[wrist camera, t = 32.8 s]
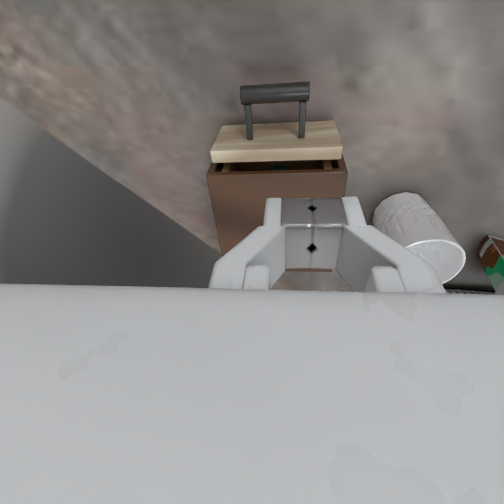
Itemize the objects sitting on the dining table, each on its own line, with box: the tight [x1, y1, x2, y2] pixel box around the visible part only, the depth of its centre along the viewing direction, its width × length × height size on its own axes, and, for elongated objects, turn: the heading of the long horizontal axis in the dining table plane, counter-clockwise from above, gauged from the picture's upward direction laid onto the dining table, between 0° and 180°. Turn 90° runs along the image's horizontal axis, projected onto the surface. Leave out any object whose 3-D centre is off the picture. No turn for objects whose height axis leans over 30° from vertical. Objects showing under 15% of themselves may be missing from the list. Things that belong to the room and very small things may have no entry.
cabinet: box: [206, 154, 348, 272], centre depth 35 cm, size 13×13×8 cm
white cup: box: [372, 192, 466, 284], centre depth 35 cm, size 8×8×10 cm
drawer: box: [210, 82, 343, 172], centre depth 32 cm, size 17×12×7 cm
